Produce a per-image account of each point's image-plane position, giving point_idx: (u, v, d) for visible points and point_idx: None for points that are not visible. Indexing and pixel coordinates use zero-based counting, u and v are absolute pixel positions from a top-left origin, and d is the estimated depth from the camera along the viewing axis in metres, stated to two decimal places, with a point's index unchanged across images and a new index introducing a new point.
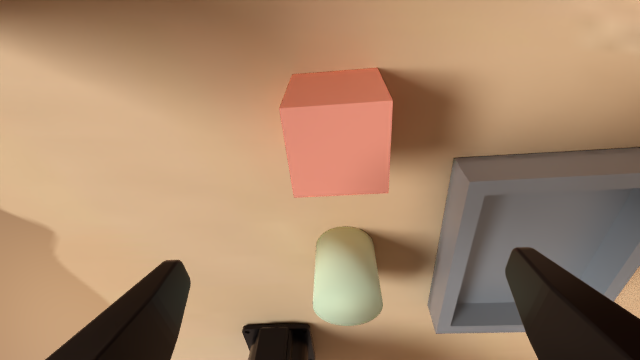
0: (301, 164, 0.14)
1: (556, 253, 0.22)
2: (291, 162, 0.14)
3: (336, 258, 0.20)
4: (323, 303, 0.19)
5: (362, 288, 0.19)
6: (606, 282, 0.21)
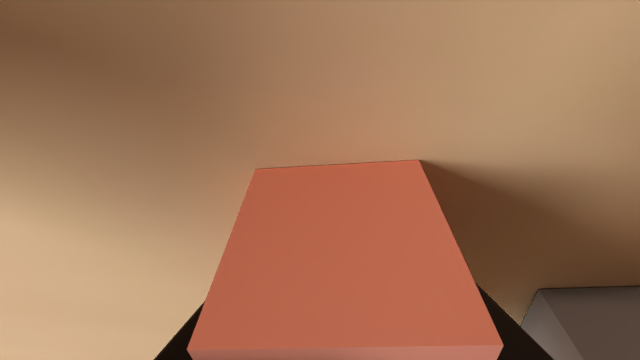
0: None
1: None
2: None
3: None
4: None
5: None
6: None
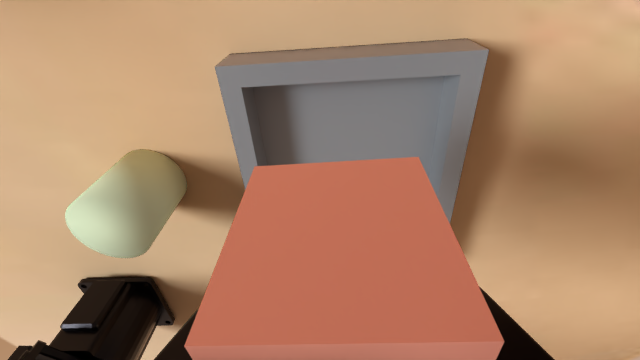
0: None
1: None
2: None
3: (104, 176, 0.17)
4: (79, 225, 0.17)
5: (111, 203, 0.16)
6: None
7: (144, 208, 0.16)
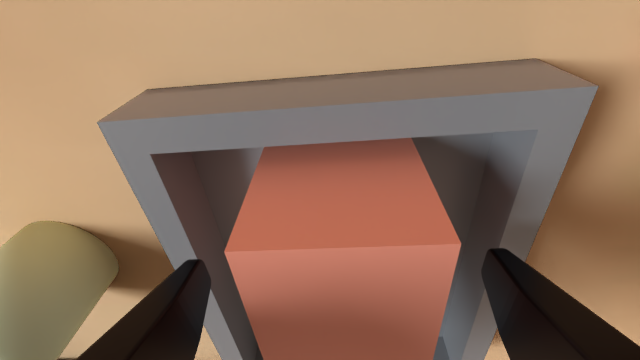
0: (275, 328, 0.07)
1: None
2: (256, 325, 0.07)
3: None
4: None
5: None
6: (470, 316, 0.13)
7: (20, 333, 0.10)
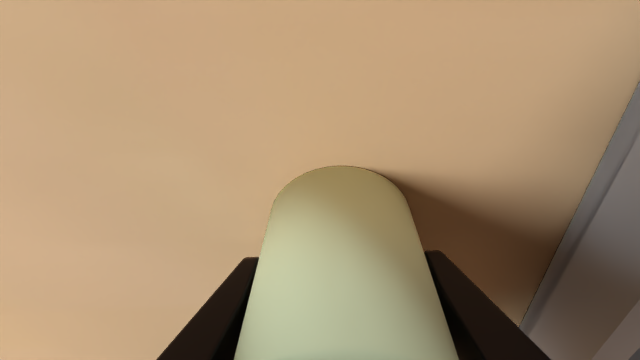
0: None
1: None
2: None
3: (310, 247, 0.06)
4: None
5: None
6: None
7: (455, 351, 0.05)
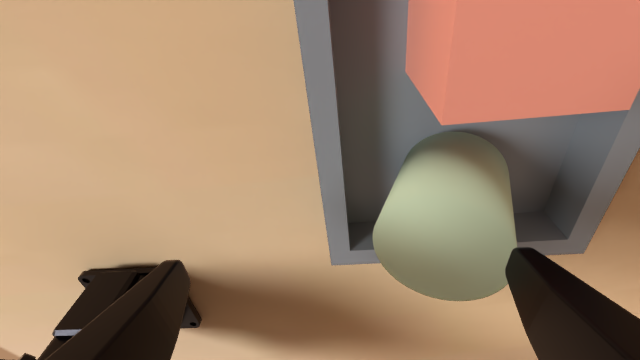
0: (476, 49, 0.07)
1: None
2: (458, 44, 0.07)
3: (434, 163, 0.11)
4: (392, 234, 0.10)
5: (479, 214, 0.09)
6: (603, 148, 0.12)
7: (514, 231, 0.09)
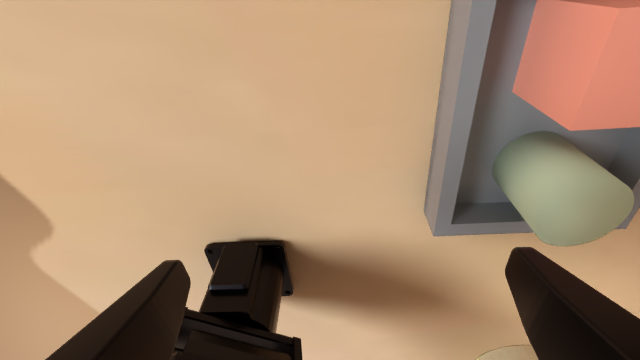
0: (602, 86, 0.12)
1: None
2: (593, 83, 0.12)
3: (561, 158, 0.16)
4: (553, 210, 0.15)
5: (619, 186, 0.14)
6: None
7: None
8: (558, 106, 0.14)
